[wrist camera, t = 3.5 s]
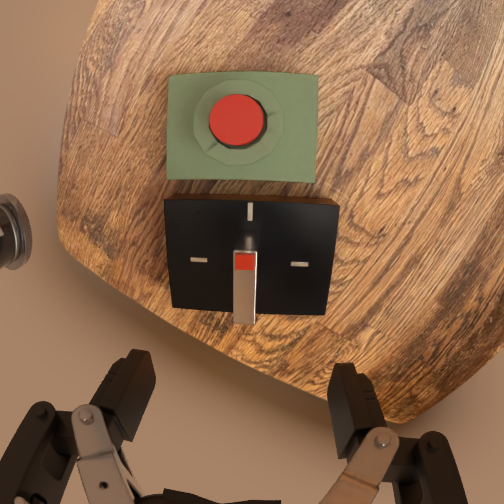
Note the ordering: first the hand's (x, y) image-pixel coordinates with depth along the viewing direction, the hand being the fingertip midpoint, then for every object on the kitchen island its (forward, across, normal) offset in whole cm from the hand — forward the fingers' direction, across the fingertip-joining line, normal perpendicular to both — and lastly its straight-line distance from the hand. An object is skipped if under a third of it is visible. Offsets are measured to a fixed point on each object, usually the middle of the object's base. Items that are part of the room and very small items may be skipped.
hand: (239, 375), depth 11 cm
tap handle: (+13, 0, 0) cm, 13 cm away
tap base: (+16, 0, 0) cm, 16 cm away
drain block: (+16, +1, -11) cm, 19 cm away
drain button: (+12, +1, -11) cm, 16 cm away
